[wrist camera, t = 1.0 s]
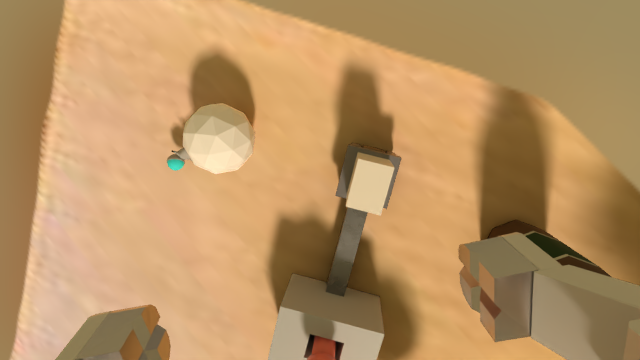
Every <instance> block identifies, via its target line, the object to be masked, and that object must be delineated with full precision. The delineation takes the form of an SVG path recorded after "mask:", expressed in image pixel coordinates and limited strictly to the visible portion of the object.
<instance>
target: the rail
mask: <svg viewBox="0 0 640 360" xmlns="http://www.w3.org/2000/svg"><path fill="white" fill-rule="evenodd" d="M363 148H368V149H372V150H376V151H380V152H384V151H383V150H382V149H378V148H374V147H370V146H366V145H363ZM366 216H367V212H365V211H361V210H357V209H353V208H349V207H347V209H346V212H345V216H344V220H343V224H342V228H341V231H340V235H339V239H338V243H337V247H336V250H335V254H334V258H333V262H332V266H331V269H330V273H329V277H328V281H327V286H326V292H328V293H331V294H335V295H339V296H343V297H344V295H345V291H346V288H347V284H348V281H349V277H350V273H351V270H352V266H353V263H354V259H355V255H356V252H357V248H358V245H359V241H360V237H361V234H362V230H363V227H364V223H365V220H366Z"/></svg>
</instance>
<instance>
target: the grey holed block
mask: <svg viewBox="0 0 640 360" xmlns="http://www.w3.org/2000/svg"><path fill="white" fill-rule="evenodd" d="M326 286H327V282H324V281H320V280H317V279H313V278H309V277H305V276H301V275H298V274H294V273H292V276H291V279H290V281H289V284H288V287H287V290H286V292H285V295H284V298H283V300H282V303H281V306H280V310H279V314H278V318H277V323H276V327H275V331H274V335H273V340H272V344H271V348H270V353H269V357H268V360H307V358H308V357H309V356H310V355H312V349H313V343H314V337H315V335H316V336H320V337H323V338H327V339H331V340H334V341H336V347H335V359H336V360H377V357H378V354H379V350H380V347H381V344H382V341H383V338H384V335H385V334H384V326H383V319H382V311H381V303H380V296H377V295H373V294H370V293H366V292H362V291H358V290H354V289H351V288H346V291H345V295H344V297H343V296H339V295H335V294H331V293H328V292H326Z"/></svg>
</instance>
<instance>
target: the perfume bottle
mask: <svg viewBox="0 0 640 360" xmlns="http://www.w3.org/2000/svg"><path fill="white" fill-rule="evenodd" d="M254 139H255V131H254V129H253V127H252V126H251V124H250V122H249V121H248V119H247V117H246V115H245V114H244V113H243V112H241V111H239V110H237V109H235V108H233V107H231V106H229V105H226V104H224V103H219V104H210V105H206V106H202V107H200V108H199V109H198V110H197V111H196V112H195V113H194V114H193V115H192V116H191V117H190V118H189V120H188V121H187V122H186V123H185V126H184V131H183V147H184V148H183V149H180V150H179V151H178V152H177V151H173V150H172V152H174V153H176V154H173V155H171V156H169V157H168V159H167V163H168V166H169V167H170V168H171V169H172V170H180V169H181V168H182V167H183V165H184V164H185V161H184V160H192V162H193V163H194V165H196V166H198V167H200V168H203V169H205V170H207V171H210V172H212V173H214V174H220V173H224V172H229V171H234V170H238V169H239V168H240V167H241V166H242V165H243V164H244V163H245V162H246V161H247V160H248V158H249V157H250V156H251V155H252V154H253V148H254Z"/></svg>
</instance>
